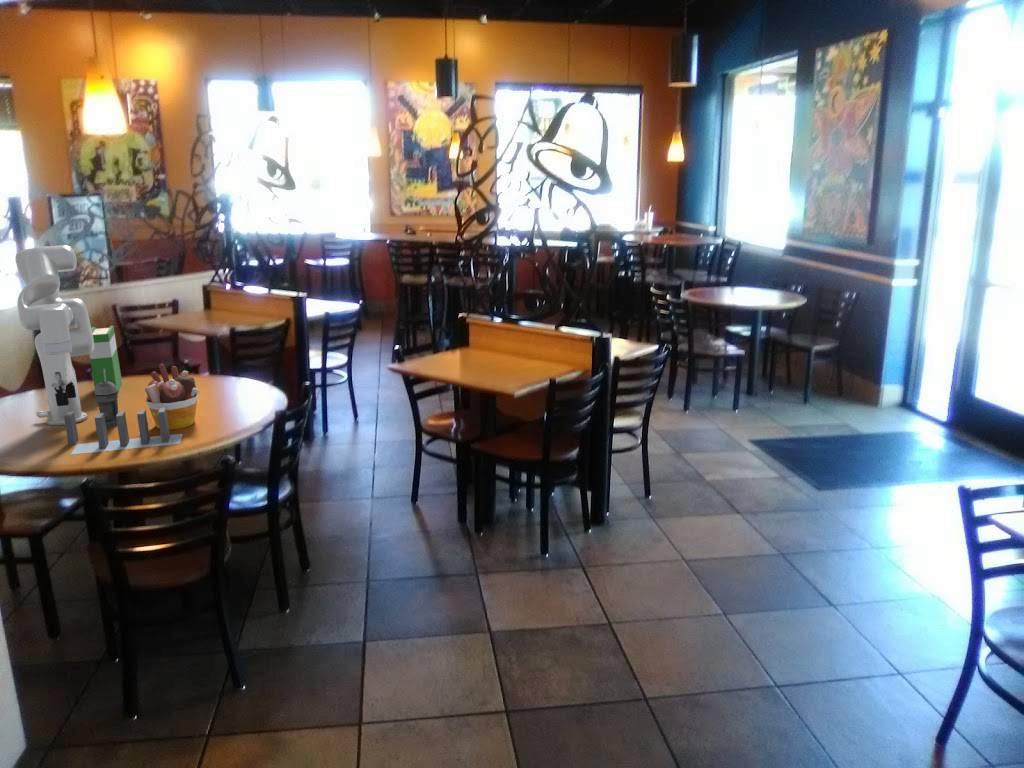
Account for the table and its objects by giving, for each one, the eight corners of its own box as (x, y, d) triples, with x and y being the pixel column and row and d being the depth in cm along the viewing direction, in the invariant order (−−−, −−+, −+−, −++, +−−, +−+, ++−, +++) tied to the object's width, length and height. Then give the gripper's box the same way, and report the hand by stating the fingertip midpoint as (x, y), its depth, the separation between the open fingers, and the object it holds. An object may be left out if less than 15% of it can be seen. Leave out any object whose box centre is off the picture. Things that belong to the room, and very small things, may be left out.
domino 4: (141, 444, 255) (137, 414, 252) (143, 439, 259) (139, 409, 257) (147, 444, 255) (143, 413, 252) (149, 439, 260) (145, 409, 257)
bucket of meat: (208, 428, 271) (201, 370, 266) (155, 438, 262) (147, 378, 257) (193, 414, 287) (186, 359, 282) (143, 422, 279) (135, 366, 273)
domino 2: (99, 449, 251) (94, 418, 249) (102, 444, 256) (97, 413, 253) (105, 448, 252) (100, 417, 249) (108, 443, 257) (104, 412, 254)
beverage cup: (116, 421, 281) (108, 364, 276) (127, 425, 276) (118, 367, 271) (95, 426, 276) (86, 369, 270) (105, 430, 271) (96, 372, 266)
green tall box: (101, 386, 327) (92, 327, 321) (122, 384, 329) (113, 325, 323) (96, 397, 311) (86, 335, 305) (117, 395, 313) (108, 333, 307)
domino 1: (69, 447, 256) (63, 416, 253) (72, 442, 260) (67, 412, 258) (75, 446, 256) (70, 416, 253) (78, 441, 261) (73, 411, 258)
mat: (70, 456, 247) (70, 454, 247) (77, 445, 257) (77, 444, 256) (179, 445, 255) (179, 443, 255) (183, 435, 265) (182, 433, 265)
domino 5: (162, 442, 256) (157, 412, 254) (164, 437, 261) (159, 407, 258) (168, 442, 257) (164, 411, 254) (170, 437, 261) (166, 407, 259)
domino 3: (120, 447, 253) (115, 416, 250) (123, 441, 258) (118, 411, 255) (126, 446, 254) (122, 415, 251) (129, 441, 258) (124, 411, 256)
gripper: (51, 343, 257) (60, 396, 261) (36, 354, 241) (46, 409, 245) (77, 341, 259) (86, 393, 263) (64, 351, 243) (73, 407, 247)
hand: (66, 401), depth 254 cm, fingers open, 9 cm apart
